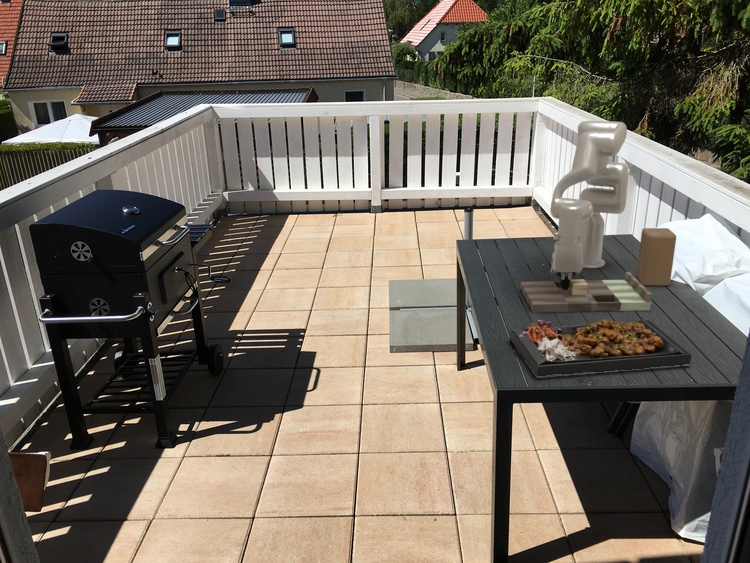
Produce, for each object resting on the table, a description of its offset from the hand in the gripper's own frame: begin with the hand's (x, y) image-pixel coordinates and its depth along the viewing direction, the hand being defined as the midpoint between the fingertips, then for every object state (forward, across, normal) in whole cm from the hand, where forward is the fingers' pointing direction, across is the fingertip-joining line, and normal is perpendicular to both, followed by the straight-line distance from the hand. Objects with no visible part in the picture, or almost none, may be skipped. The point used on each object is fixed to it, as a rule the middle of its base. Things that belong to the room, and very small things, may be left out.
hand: (564, 288), depth 234 cm
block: (+4, +38, +17) cm, 41 cm away
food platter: (+6, 0, -42) cm, 42 cm away
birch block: (+1, +5, -1) cm, 5 cm away
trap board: (+4, +7, 0) cm, 8 cm away
